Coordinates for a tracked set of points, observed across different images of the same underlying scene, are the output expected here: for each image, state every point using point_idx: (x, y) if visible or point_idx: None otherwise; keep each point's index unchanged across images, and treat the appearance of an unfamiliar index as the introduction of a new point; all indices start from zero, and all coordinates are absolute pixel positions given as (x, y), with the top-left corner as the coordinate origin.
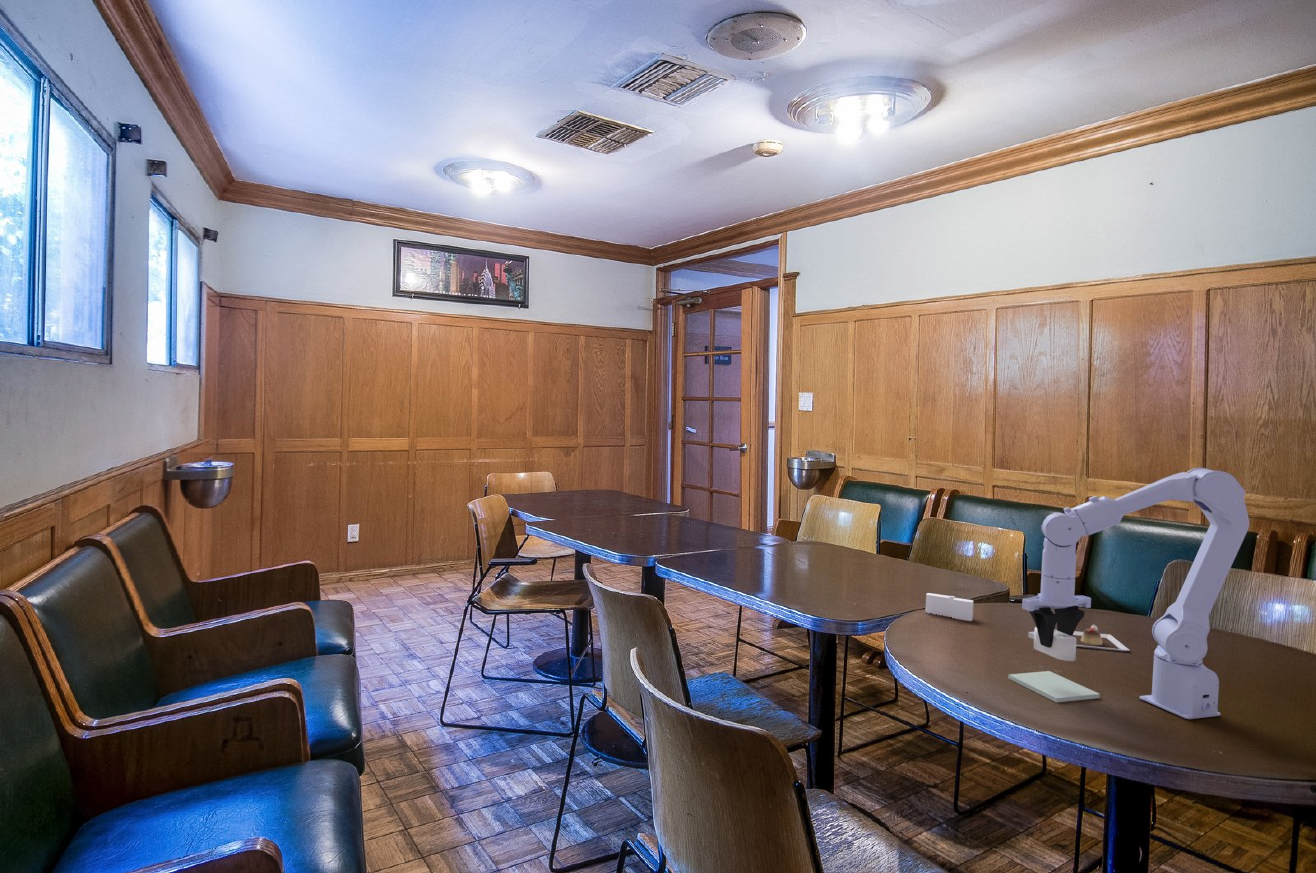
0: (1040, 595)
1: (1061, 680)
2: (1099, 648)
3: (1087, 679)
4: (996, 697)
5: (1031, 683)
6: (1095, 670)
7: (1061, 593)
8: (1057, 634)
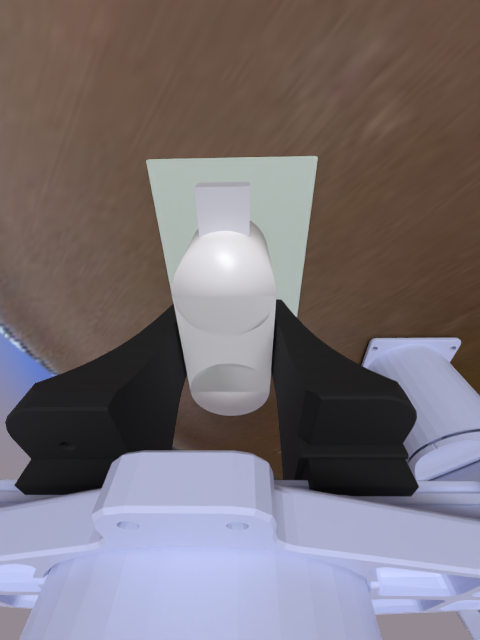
0: (49, 582)
1: (280, 241)
2: None
3: (393, 218)
4: (51, 275)
5: (176, 243)
6: None
7: None
8: (223, 364)
